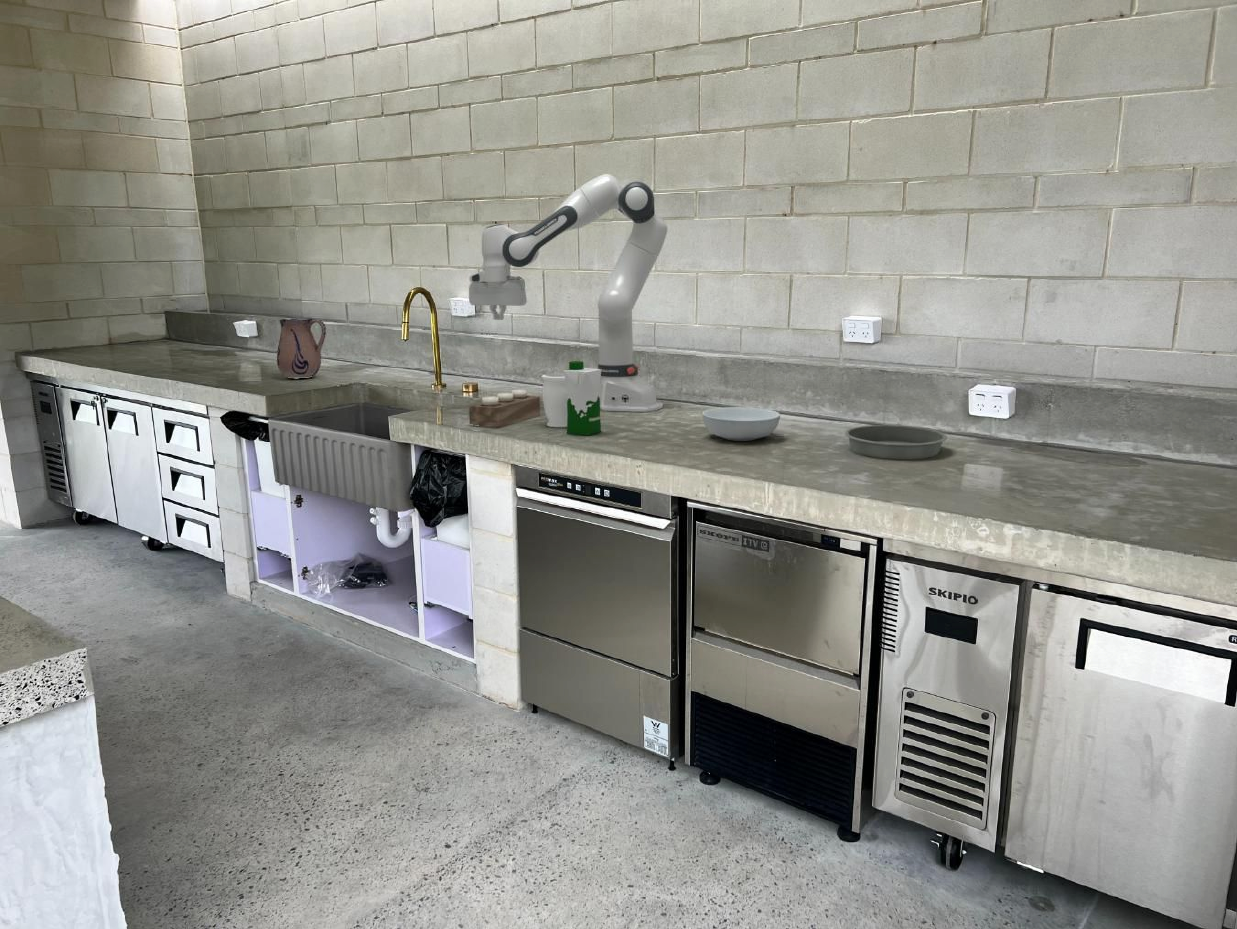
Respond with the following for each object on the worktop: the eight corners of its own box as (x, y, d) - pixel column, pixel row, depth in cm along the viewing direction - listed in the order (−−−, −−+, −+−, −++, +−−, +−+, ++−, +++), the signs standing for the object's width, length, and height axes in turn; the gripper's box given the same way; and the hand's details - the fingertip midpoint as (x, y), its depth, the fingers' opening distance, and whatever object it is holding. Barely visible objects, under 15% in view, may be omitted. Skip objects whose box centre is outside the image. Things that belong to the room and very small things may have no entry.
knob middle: (516, 414, 285) (515, 393, 284) (508, 416, 281) (507, 395, 280) (503, 413, 287) (502, 392, 286) (494, 415, 283) (493, 394, 282)
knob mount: (540, 415, 293) (539, 396, 292) (498, 428, 272) (497, 407, 271) (513, 413, 297) (512, 394, 296) (469, 425, 276) (468, 405, 275)
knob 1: (502, 418, 278) (501, 396, 277) (493, 420, 274) (492, 399, 273) (488, 417, 280) (488, 396, 279) (479, 419, 276) (478, 398, 275)
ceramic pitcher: (284, 376, 400) (278, 317, 395) (334, 375, 402) (329, 316, 397) (274, 381, 383) (268, 320, 378) (326, 380, 385) (321, 319, 380)
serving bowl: (726, 448, 240) (727, 422, 238) (688, 434, 258) (688, 410, 257) (794, 441, 248) (795, 415, 246) (753, 428, 266) (753, 404, 265)
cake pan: (837, 457, 227) (838, 439, 226) (851, 439, 250) (851, 422, 249) (943, 464, 219) (945, 445, 218) (947, 444, 241) (948, 427, 240)
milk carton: (579, 429, 269) (578, 359, 264) (606, 431, 264) (604, 361, 260) (562, 434, 262) (560, 363, 257) (588, 436, 257) (587, 364, 252)
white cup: (551, 429, 268) (550, 378, 265) (537, 424, 277) (536, 374, 274) (584, 426, 273) (583, 375, 270) (570, 421, 282) (569, 371, 279)
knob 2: (530, 410, 292) (529, 389, 291) (522, 412, 288) (521, 391, 287) (517, 409, 294) (516, 388, 293) (509, 411, 290) (508, 391, 289)
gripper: (529, 275, 298) (531, 319, 301) (476, 276, 306) (478, 318, 309) (519, 276, 292) (520, 320, 295) (465, 276, 301) (467, 319, 304)
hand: (498, 319), depth 302 cm, fingers closed
